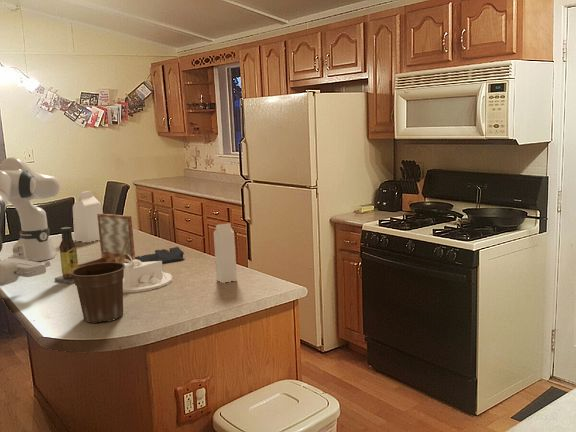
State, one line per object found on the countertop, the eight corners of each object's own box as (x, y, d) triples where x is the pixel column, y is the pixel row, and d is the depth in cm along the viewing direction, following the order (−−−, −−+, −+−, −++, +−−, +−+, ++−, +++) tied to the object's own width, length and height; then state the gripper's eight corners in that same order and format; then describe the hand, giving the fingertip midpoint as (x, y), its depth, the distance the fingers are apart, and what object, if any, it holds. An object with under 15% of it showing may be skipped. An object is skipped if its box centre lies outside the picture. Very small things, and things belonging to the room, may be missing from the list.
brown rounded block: (113, 269, 238) (112, 258, 238) (121, 266, 242) (120, 255, 241) (121, 270, 236) (119, 259, 235) (129, 268, 240) (127, 256, 239)
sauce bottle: (74, 278, 221) (68, 229, 218) (59, 279, 222) (53, 229, 219) (82, 274, 228) (77, 226, 225) (68, 274, 229) (62, 226, 225)
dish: (113, 297, 201) (110, 267, 199) (101, 281, 223) (98, 253, 221) (180, 285, 212) (178, 256, 210) (162, 270, 234) (160, 244, 232)
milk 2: (237, 281, 214) (234, 224, 210) (222, 283, 211) (219, 226, 207) (230, 277, 219) (227, 221, 215) (216, 280, 216) (212, 223, 212)
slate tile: (54, 280, 224) (54, 278, 224) (75, 274, 233) (75, 271, 233) (71, 284, 219) (70, 281, 219) (92, 277, 228) (91, 274, 227)
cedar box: (70, 272, 236) (64, 220, 232) (104, 262, 251) (99, 213, 247) (102, 278, 226) (96, 223, 222) (136, 267, 241) (131, 216, 237)
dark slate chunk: (129, 262, 252) (128, 251, 251) (177, 254, 262) (176, 244, 262) (139, 269, 239) (137, 258, 238) (188, 260, 249) (187, 250, 248)
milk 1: (88, 242, 294) (83, 193, 289) (74, 241, 300) (69, 192, 295) (107, 238, 304) (102, 190, 299) (93, 236, 310) (88, 189, 305)
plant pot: (65, 323, 176) (59, 273, 173) (99, 306, 191) (94, 260, 188) (107, 328, 170) (102, 277, 167) (139, 310, 185) (135, 263, 182)
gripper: (23, 266, 196) (57, 256, 208) (-11, 259, 207) (24, 251, 218) (25, 283, 197) (59, 273, 209) (-8, 276, 208) (26, 266, 220)
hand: (41, 261), depth 214 cm, fingers open, 8 cm apart
